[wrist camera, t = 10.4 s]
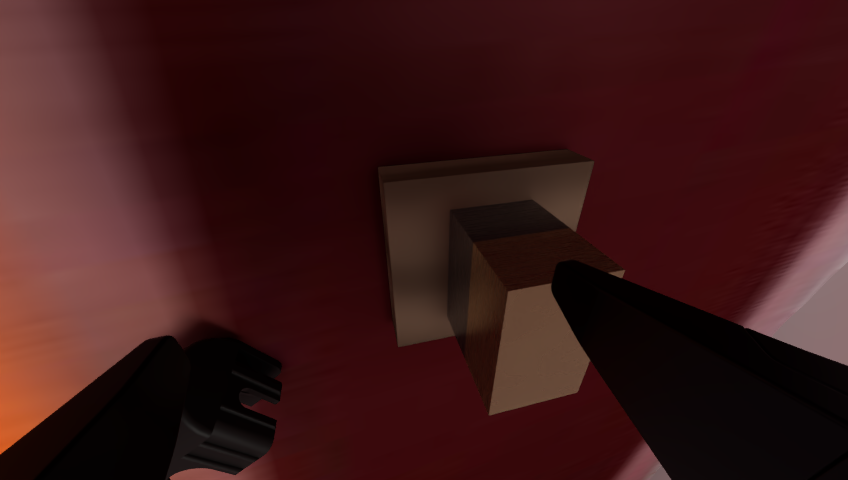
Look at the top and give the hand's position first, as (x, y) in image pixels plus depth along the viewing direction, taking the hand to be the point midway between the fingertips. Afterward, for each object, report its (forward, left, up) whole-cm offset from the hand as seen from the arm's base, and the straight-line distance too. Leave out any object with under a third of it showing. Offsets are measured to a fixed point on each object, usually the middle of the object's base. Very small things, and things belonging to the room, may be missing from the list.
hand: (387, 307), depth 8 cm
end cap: (+14, -13, -12) cm, 23 cm away
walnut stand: (+6, +7, -12) cm, 15 cm away
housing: (+6, +7, -9) cm, 13 cm away
